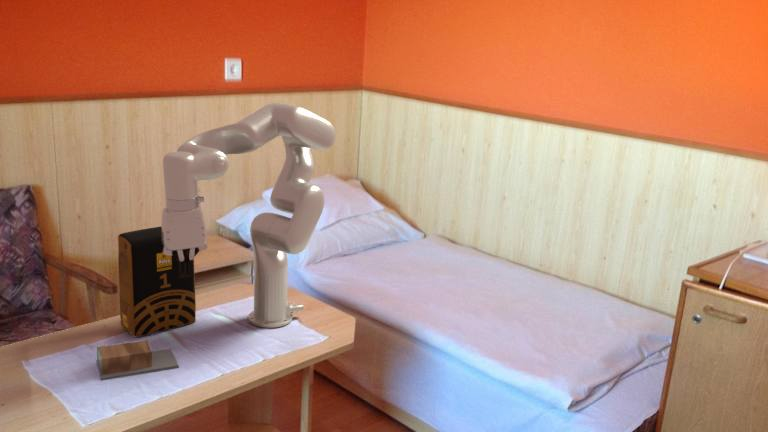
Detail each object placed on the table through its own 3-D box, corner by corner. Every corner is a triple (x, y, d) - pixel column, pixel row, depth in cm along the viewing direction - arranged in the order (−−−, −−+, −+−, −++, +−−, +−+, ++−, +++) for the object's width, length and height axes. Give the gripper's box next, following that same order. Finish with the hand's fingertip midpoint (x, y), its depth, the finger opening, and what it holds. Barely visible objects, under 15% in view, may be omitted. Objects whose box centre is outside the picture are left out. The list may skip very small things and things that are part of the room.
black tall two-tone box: (199, 323, 205) (198, 228, 198) (132, 340, 193) (128, 239, 185) (183, 310, 213) (180, 219, 205) (117, 326, 201) (112, 229, 193)
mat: (170, 350, 188) (170, 348, 188) (178, 367, 180) (178, 365, 180) (96, 361, 180) (96, 359, 180) (101, 380, 172) (101, 378, 172)
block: (147, 339, 183) (96, 347, 178) (151, 351, 177) (99, 359, 172) (148, 354, 184) (97, 361, 179) (152, 366, 178) (100, 374, 173)
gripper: (209, 196, 182) (213, 264, 187) (147, 202, 175) (153, 273, 181) (216, 204, 175) (220, 274, 181) (152, 211, 169) (158, 284, 174)
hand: (186, 273), depth 181 cm, fingers closed
